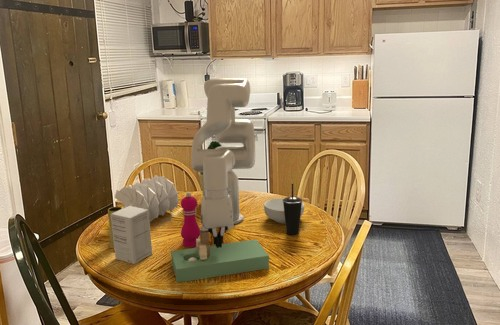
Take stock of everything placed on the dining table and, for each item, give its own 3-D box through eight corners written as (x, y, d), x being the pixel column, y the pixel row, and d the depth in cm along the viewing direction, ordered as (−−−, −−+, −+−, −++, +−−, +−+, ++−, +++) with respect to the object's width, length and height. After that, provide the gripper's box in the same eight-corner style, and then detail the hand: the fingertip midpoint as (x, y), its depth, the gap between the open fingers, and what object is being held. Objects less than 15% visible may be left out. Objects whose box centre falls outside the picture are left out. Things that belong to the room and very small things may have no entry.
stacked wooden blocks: (196, 249, 157) (195, 227, 155) (206, 248, 157) (205, 226, 156) (201, 259, 149) (199, 236, 147) (211, 258, 150) (210, 235, 148)
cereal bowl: (310, 224, 190) (310, 207, 189) (272, 229, 186) (271, 212, 184) (294, 211, 206) (294, 195, 204) (258, 215, 202) (258, 200, 200)
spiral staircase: (176, 219, 210) (137, 236, 189) (149, 198, 217) (108, 212, 195) (190, 186, 203) (151, 200, 182) (161, 165, 210) (120, 176, 188)
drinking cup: (301, 237, 177) (301, 187, 172) (281, 236, 178) (281, 186, 174) (303, 230, 184) (303, 181, 179) (284, 229, 186) (283, 180, 181)
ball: (183, 263, 154) (189, 253, 154) (193, 268, 156) (199, 258, 155) (185, 269, 150) (191, 258, 150) (195, 273, 152) (202, 263, 152)
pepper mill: (204, 241, 176) (201, 190, 171) (196, 249, 169) (193, 196, 165) (187, 239, 178) (184, 188, 174) (178, 246, 172) (174, 194, 167)
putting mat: (171, 263, 158) (170, 251, 157) (256, 251, 166) (256, 239, 165) (177, 282, 145) (176, 269, 144) (269, 268, 153) (268, 255, 152)
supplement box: (133, 248, 171) (129, 205, 167) (153, 253, 166) (149, 208, 162) (114, 259, 163) (109, 213, 159) (133, 264, 158) (129, 217, 154)
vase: (111, 249, 170) (108, 212, 167) (108, 244, 176) (104, 207, 172) (128, 246, 173) (125, 209, 170) (124, 240, 178) (121, 205, 175)
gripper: (235, 187, 155) (237, 238, 160) (191, 192, 151) (193, 244, 156) (241, 193, 148) (243, 247, 153) (195, 198, 144) (198, 254, 149)
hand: (218, 246), depth 154 cm, fingers closed
